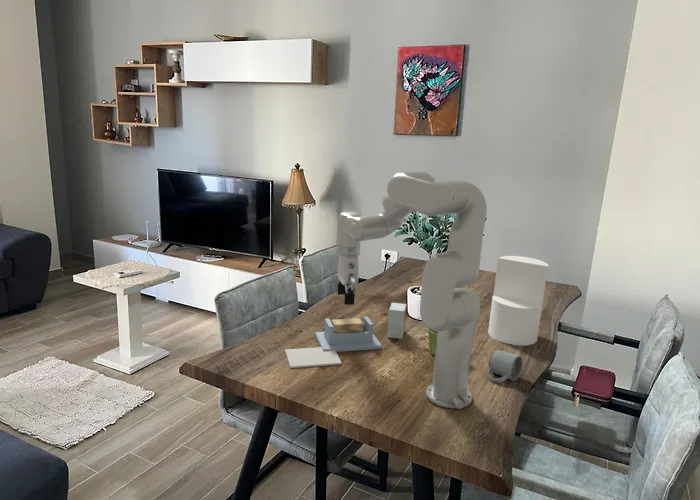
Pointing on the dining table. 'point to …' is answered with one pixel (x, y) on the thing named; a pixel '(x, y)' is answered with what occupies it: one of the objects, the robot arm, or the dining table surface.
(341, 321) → the oak block
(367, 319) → the jig
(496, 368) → the ceramic mug
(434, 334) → the plant pot
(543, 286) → the cylinder
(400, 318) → the small box
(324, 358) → the mat
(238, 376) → the dining table surface
